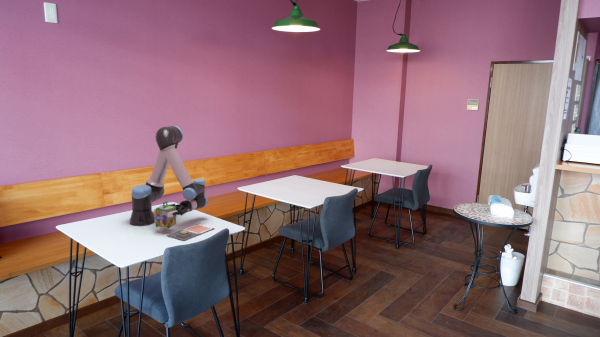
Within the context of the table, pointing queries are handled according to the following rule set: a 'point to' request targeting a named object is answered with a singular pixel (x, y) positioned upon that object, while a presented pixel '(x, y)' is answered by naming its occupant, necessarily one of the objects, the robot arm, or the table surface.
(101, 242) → the table surface
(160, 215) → the chalk box
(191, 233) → the slate board
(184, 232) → the button
